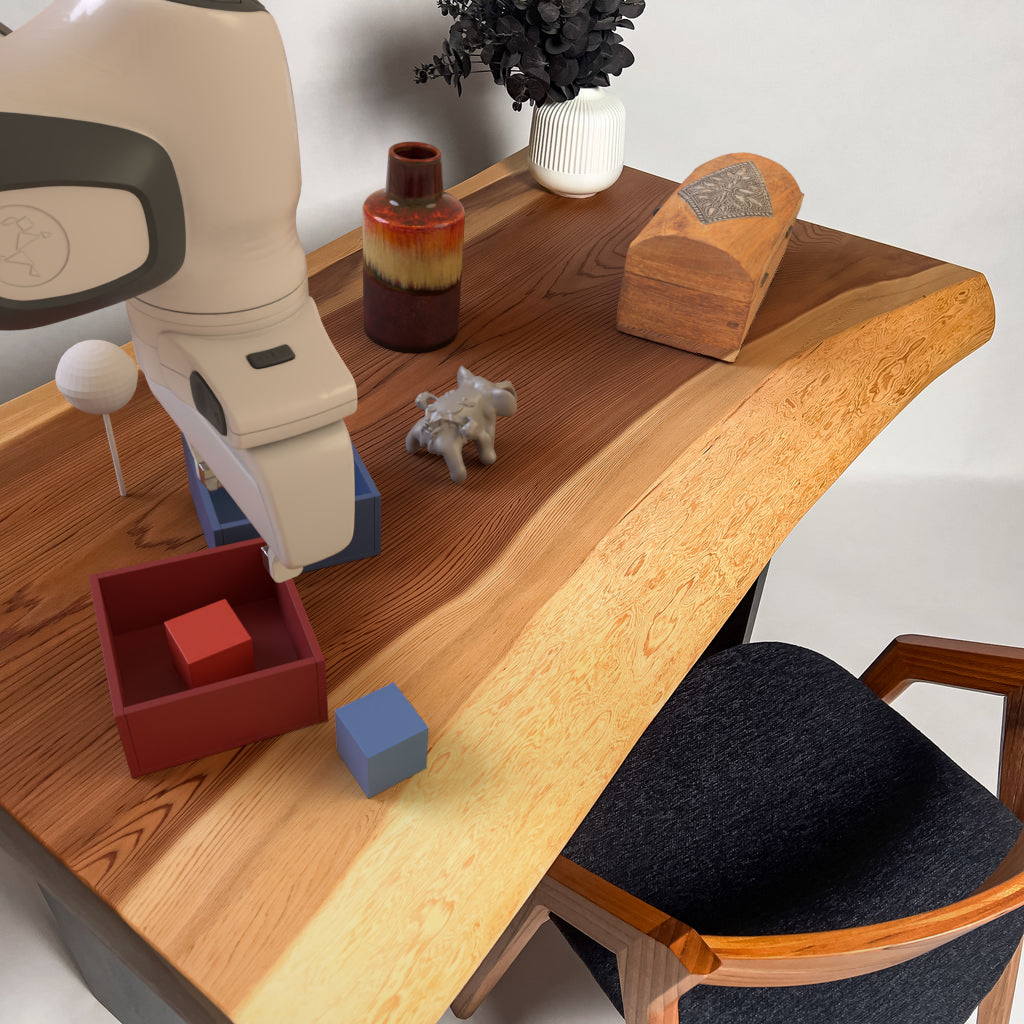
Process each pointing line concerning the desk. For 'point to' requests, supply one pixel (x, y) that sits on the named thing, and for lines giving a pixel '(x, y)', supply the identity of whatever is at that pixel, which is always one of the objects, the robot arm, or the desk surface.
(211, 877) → the desk surface
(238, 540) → the blue bin
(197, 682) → the red block
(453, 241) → the vase
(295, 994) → the desk surface
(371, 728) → the blue block
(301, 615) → the red bin
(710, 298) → the wooden box
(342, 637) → the desk surface
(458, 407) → the grey animal figurine
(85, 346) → the lollipop
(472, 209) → the desk surface
